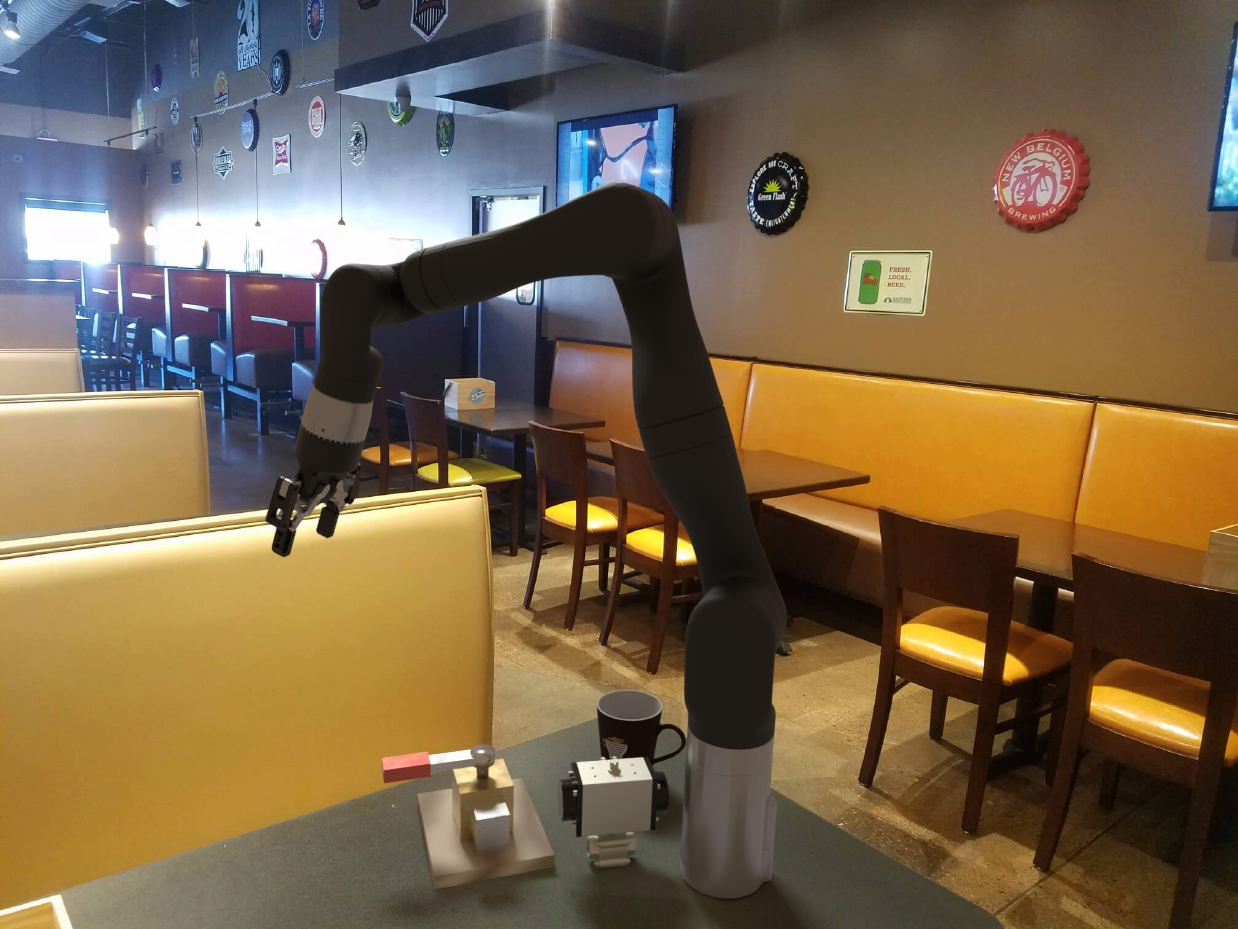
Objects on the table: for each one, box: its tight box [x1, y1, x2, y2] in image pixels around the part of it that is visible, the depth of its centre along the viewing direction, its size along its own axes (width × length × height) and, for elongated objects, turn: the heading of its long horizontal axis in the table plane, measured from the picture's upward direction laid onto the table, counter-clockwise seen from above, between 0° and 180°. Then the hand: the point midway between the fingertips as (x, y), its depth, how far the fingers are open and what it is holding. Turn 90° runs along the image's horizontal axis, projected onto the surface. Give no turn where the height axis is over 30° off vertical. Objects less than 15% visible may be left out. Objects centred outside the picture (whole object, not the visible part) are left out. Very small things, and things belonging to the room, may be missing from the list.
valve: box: [451, 758, 514, 858], centre depth 100 cm, size 6×13×7 cm, turn 19°
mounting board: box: [416, 777, 555, 890], centre depth 101 cm, size 13×16×2 cm
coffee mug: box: [596, 689, 687, 768], centre depth 112 cm, size 12×9×10 cm
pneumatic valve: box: [557, 756, 670, 869], centre depth 97 cm, size 6×12×12 cm, turn 101°
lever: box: [381, 744, 496, 784], centre depth 97 cm, size 12×3×2 cm, turn 109°
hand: (303, 544), depth 108 cm, fingers open, 8 cm apart
